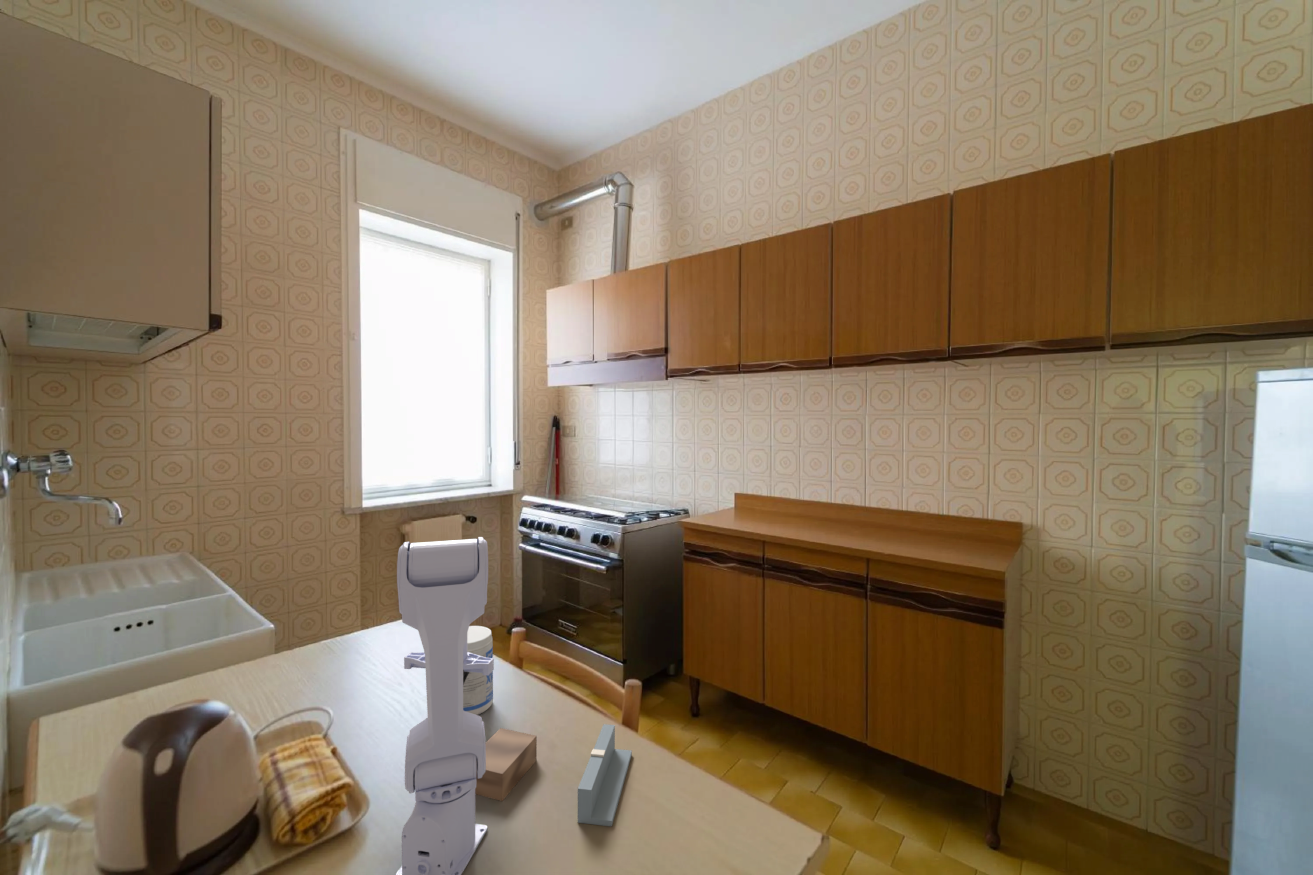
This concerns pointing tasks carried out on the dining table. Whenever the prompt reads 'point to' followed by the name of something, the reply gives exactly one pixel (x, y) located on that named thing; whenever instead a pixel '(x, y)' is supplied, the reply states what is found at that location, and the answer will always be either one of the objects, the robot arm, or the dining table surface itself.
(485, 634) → the supplement tub
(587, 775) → the board
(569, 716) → the dining table surface
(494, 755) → the walnut block
